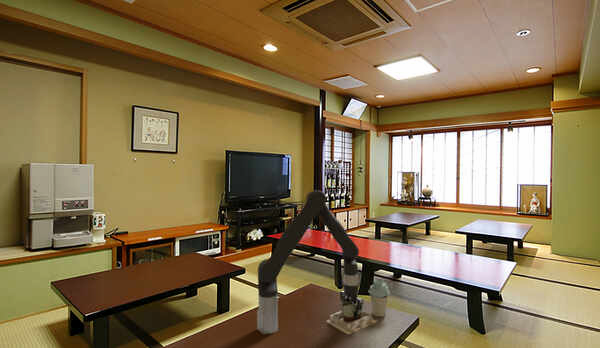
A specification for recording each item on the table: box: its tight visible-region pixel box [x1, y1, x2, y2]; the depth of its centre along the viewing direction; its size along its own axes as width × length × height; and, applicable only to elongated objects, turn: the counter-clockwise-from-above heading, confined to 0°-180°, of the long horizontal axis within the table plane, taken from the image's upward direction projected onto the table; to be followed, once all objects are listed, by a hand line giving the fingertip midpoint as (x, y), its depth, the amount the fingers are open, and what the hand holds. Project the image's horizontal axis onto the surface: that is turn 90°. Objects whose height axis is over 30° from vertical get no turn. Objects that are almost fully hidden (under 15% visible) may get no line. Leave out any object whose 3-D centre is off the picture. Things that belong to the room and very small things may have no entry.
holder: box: [325, 310, 378, 335], centre depth 159 cm, size 20×16×4 cm
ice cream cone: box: [368, 277, 391, 317], centre depth 168 cm, size 10×11×20 cm
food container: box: [339, 298, 365, 323], centre depth 160 cm, size 12×6×10 cm, turn 105°
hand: (351, 315), depth 159 cm, fingers closed on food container, 6 cm apart
